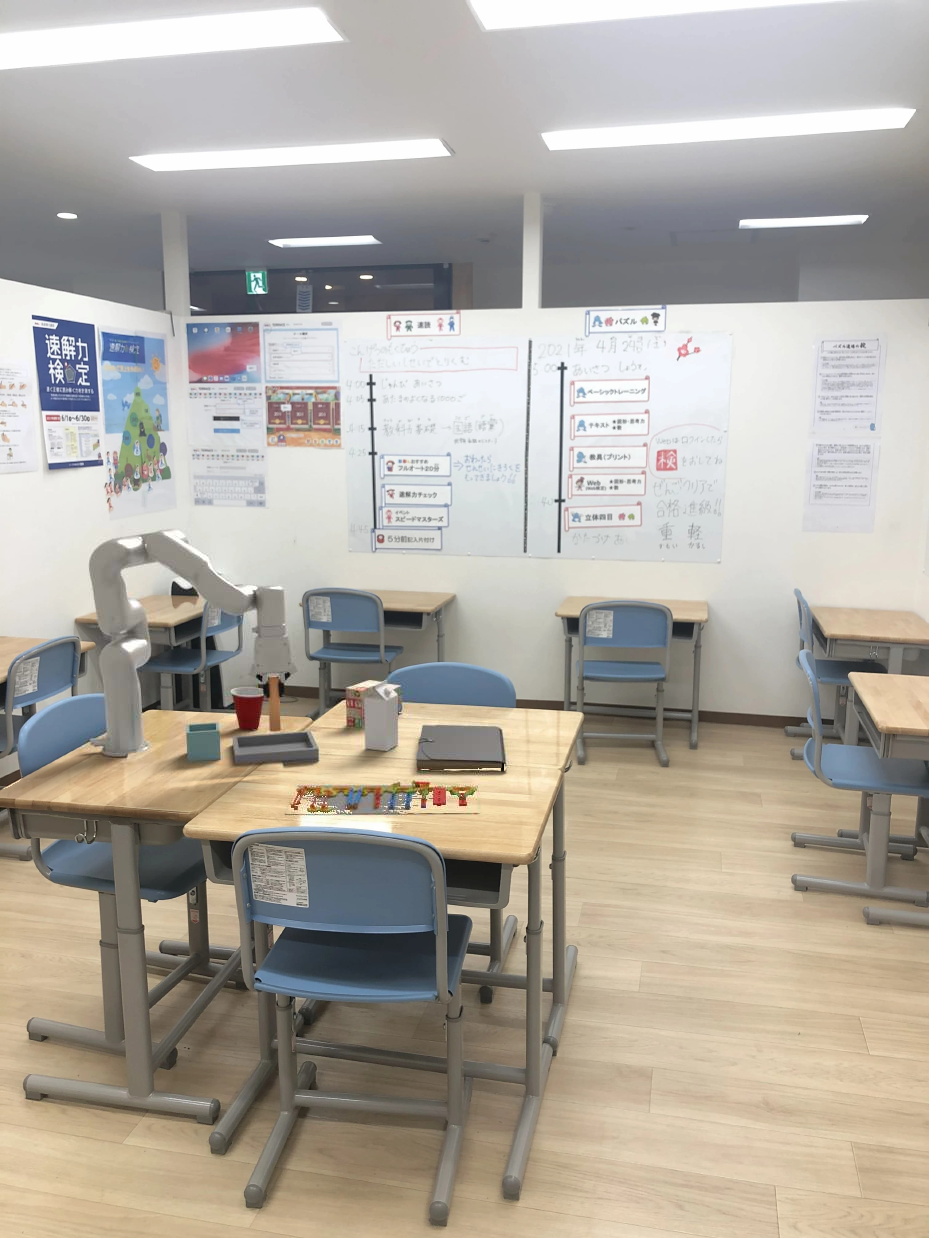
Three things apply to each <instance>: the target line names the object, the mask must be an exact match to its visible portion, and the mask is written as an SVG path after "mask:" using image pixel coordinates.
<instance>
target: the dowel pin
mask: <svg viewBox="0 0 929 1238" xmlns="http://www.w3.org/2000/svg"><path fill="white" fill-rule="evenodd" d="M279 679H280V676H278V675H270V676H267V681H268V684H269V698H267V699H268V718H269V719H268V720H269V722H268V723H269V731H270V732H274V733H276V732H280V731H281V730H282V727H281V702H280V701H281V700H280V698H281V697H279Z"/></svg>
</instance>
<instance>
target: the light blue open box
mask: <svg viewBox="0 0 929 1238" xmlns="http://www.w3.org/2000/svg"><path fill="white" fill-rule="evenodd" d="M220 731H221V730H220V722H219V721H218V722H217V721H215V722H206V723H205V722H204V723H202V722H201V723H188V724H187V723H186V731H185V733H186V734H185V736H186V737H185V738H186V757H187V759H186V760H187V763H191V762H204V761H205V762H206V761H207V762H208V761H216V760H218V761H219V760H221V759H222V757H221V755H222V753H221V735H220V734H221V733H220Z"/></svg>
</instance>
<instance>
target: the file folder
mask: <svg viewBox="0 0 929 1238" xmlns="http://www.w3.org/2000/svg"><path fill="white" fill-rule="evenodd" d="M415 760H416V771H417V770H421V769H429V770H444V769H478V768H479V769H482V768H502V769H503V763H504V764H506V765H507V762H506V761H507V759H506V752H505V743H504V734H503V729H502V728H501V727H500V726H494V725H491V726H490V725H487V726H486V725H460V724H459V725H454V724H453V725H452V724H435V725H430V724H423V725H422V727H421V731H420V736H419V739H418V747H417V752H416V757H415Z"/></svg>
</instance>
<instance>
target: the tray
mask: <svg viewBox="0 0 929 1238" xmlns="http://www.w3.org/2000/svg"><path fill="white" fill-rule="evenodd" d="M231 739H232V750H233V755H234V756H233V757H234V762H235V766H236V765H247V764H258V763H259V764H260V763H271V762H272V763H273V762H281V764H282V765H289V764H290V765H291V764H300V763H311V762H312V763H313V762H319V761H320V751H319V750H320V749H319V746H318V744H317V742H316V740H315V738H314V736H313V733H312V731H311V730H306V731H305V730H302V731H291V732H274V733H263V734H262V733H261V734H251V735H250V734H249V735H239V736H238V735H237V736H232V738H231Z"/></svg>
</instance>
